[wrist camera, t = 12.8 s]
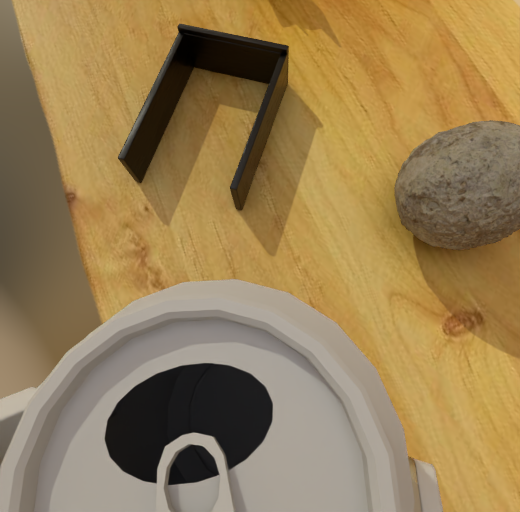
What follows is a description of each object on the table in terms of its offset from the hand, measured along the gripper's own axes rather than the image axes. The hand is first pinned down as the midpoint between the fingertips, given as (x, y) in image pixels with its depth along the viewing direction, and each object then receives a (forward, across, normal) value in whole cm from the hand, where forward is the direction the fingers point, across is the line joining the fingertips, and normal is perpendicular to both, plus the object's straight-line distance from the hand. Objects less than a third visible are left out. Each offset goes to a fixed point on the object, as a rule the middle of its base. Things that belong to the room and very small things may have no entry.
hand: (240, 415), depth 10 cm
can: (+4, 0, +5) cm, 7 cm away
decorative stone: (+26, -10, +1) cm, 28 cm away
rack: (+28, +12, -2) cm, 30 cm away
